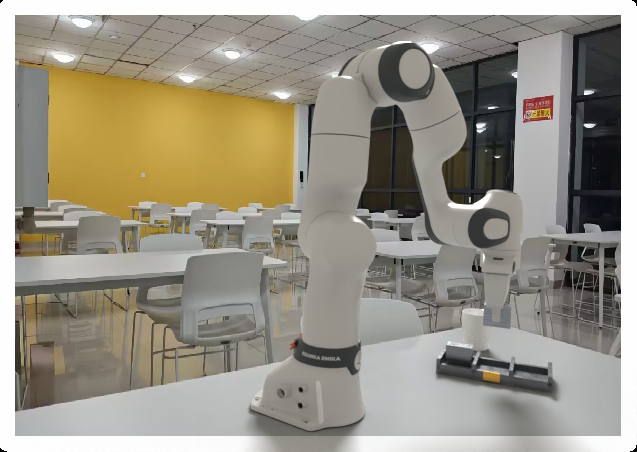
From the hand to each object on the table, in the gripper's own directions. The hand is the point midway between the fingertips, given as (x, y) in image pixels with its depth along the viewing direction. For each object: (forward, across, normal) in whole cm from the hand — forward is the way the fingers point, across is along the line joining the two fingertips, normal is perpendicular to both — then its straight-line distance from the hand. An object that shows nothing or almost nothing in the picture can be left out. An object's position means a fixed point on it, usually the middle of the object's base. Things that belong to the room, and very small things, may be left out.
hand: (497, 318), depth 119 cm
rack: (+14, 0, 0) cm, 14 cm away
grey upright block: (+2, 0, 0) cm, 2 cm away
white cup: (+14, -19, -7) cm, 24 cm away
